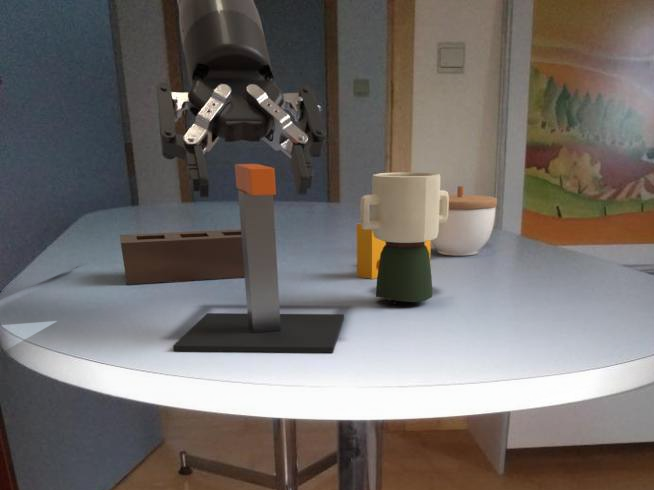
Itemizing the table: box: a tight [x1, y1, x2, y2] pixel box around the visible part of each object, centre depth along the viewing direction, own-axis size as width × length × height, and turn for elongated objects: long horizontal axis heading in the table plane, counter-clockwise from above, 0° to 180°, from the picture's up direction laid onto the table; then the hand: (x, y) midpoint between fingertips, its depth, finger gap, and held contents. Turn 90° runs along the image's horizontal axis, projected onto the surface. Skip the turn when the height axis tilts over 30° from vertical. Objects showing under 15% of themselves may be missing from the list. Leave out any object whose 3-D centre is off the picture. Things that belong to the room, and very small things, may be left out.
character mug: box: [359, 171, 450, 305], centre depth 77 cm, size 11×7×13 cm, turn 121°
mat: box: [172, 312, 345, 354], centre depth 68 cm, size 14×12×1 cm
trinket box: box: [431, 185, 498, 257], centre depth 107 cm, size 11×11×9 cm
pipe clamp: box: [356, 222, 432, 280], centre depth 95 cm, size 12×4×6 cm, turn 137°
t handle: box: [234, 163, 281, 333], centre depth 64 cm, size 8×3×14 cm, turn 18°
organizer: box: [119, 228, 245, 286], centre depth 93 cm, size 7×18×5 cm, turn 108°
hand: (255, 189), depth 61 cm, fingers open, 8 cm apart
